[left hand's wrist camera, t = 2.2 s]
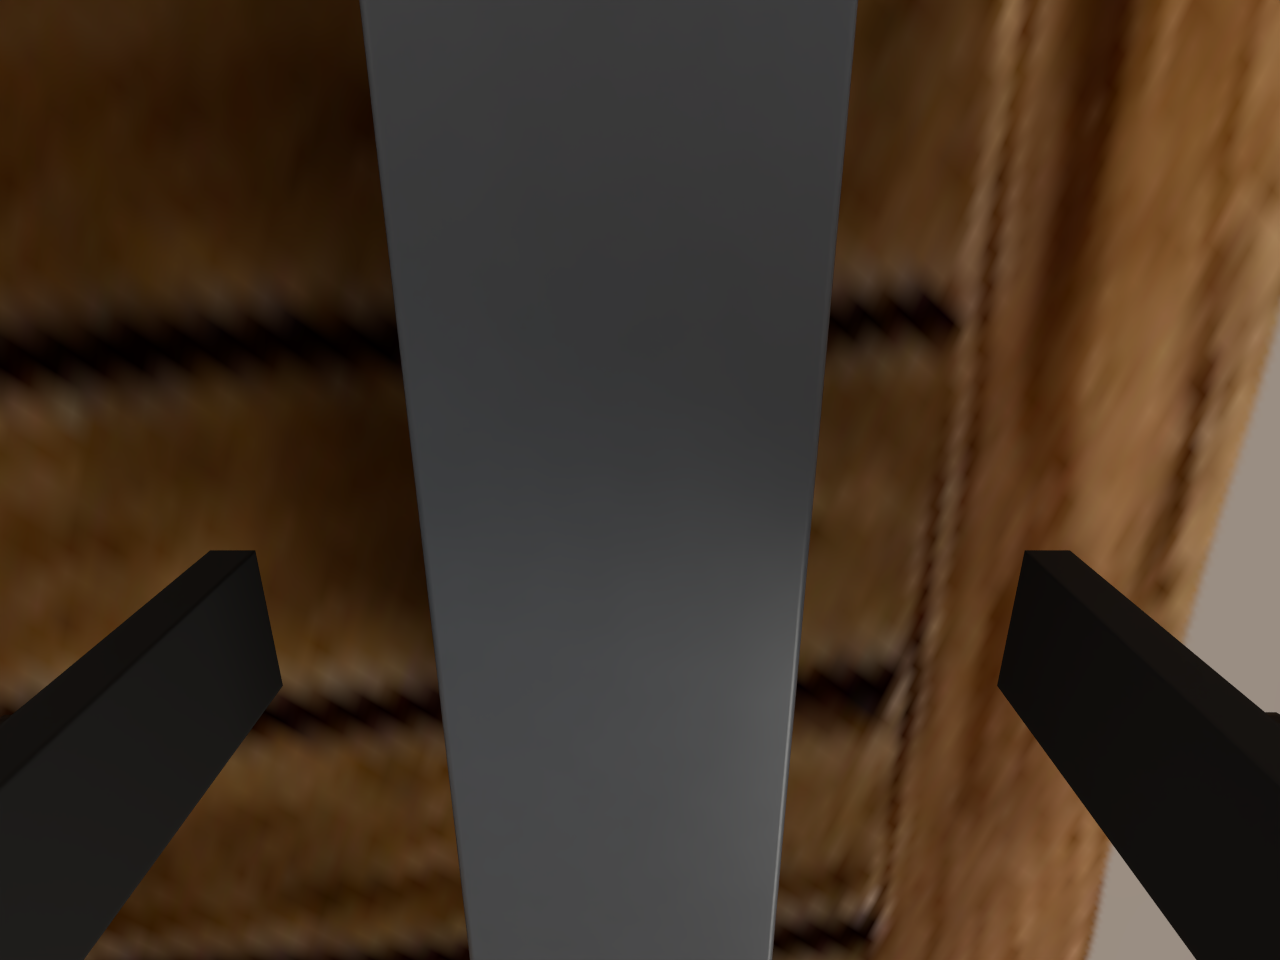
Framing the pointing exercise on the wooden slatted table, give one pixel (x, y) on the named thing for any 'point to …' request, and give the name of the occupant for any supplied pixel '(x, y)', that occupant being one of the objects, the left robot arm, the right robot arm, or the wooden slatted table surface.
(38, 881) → the left robot arm
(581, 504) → the post
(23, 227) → the wooden slatted table surface
